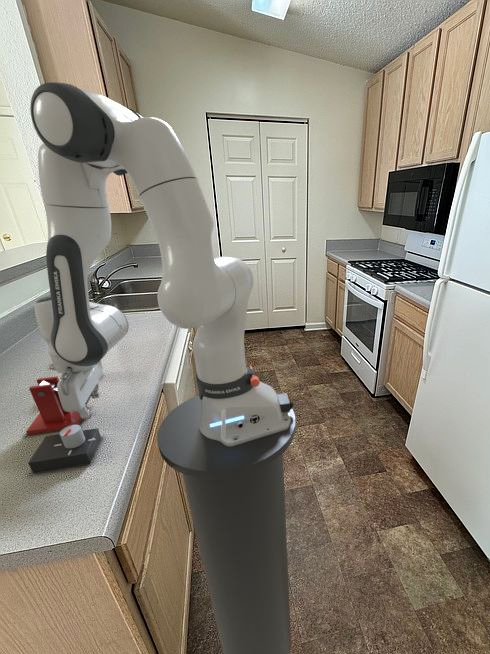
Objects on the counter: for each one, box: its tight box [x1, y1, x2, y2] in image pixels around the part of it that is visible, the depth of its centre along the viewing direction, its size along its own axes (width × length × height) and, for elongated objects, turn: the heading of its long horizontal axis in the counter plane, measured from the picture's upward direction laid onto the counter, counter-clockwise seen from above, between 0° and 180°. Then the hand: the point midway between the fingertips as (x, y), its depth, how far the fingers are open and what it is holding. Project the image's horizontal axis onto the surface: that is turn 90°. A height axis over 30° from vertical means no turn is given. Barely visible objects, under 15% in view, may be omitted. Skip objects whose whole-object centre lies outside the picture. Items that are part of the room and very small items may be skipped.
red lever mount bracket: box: [26, 375, 89, 436], centre depth 84 cm, size 11×9×12 cm
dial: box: [59, 424, 85, 448], centre depth 74 cm, size 4×4×4 cm
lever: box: [38, 381, 92, 406], centre depth 84 cm, size 11×5×2 cm, turn 105°
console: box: [27, 427, 102, 474], centre depth 75 cm, size 12×9×3 cm
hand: (91, 406), depth 87 cm, fingers open, 8 cm apart
